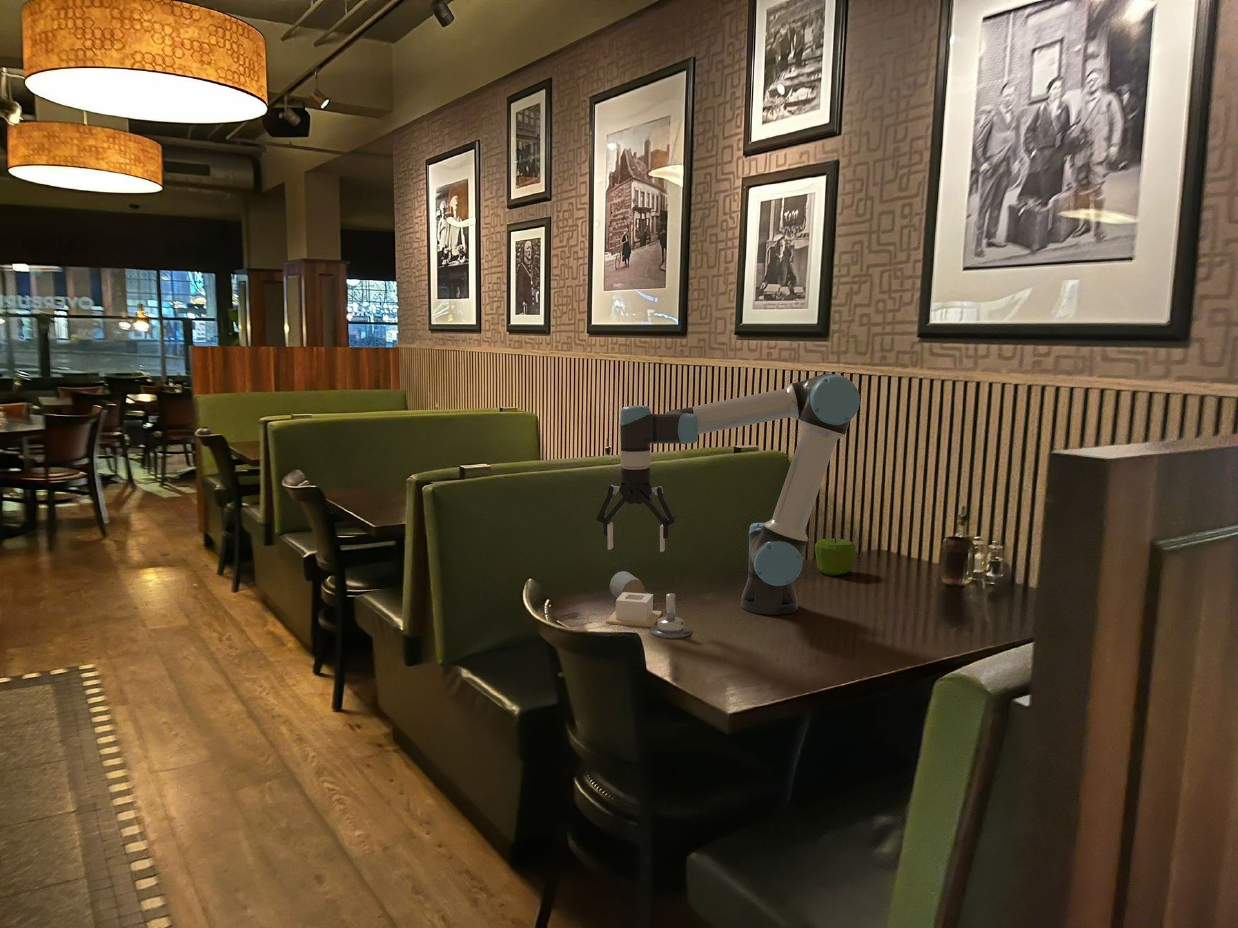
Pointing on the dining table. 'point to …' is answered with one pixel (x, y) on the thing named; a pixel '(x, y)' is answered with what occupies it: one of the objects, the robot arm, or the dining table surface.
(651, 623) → the mat
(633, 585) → the ceramic mug
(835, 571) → the apple
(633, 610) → the white hollow square block
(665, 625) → the stand
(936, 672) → the dining table surface
